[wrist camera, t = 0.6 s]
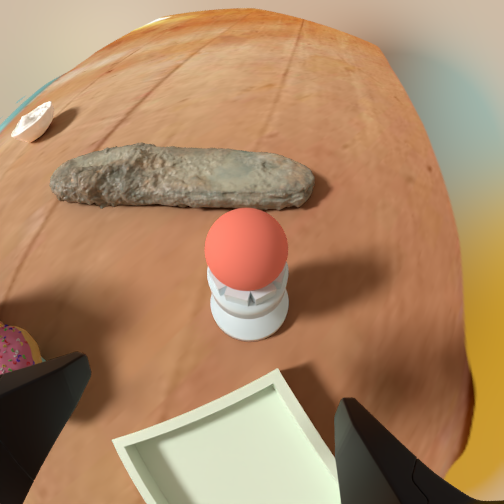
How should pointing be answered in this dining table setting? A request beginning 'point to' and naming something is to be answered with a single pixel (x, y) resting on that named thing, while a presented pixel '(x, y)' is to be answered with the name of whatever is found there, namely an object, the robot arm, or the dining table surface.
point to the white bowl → (34, 123)
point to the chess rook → (249, 308)
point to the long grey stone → (183, 178)
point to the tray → (234, 452)
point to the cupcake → (17, 349)
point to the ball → (246, 249)
